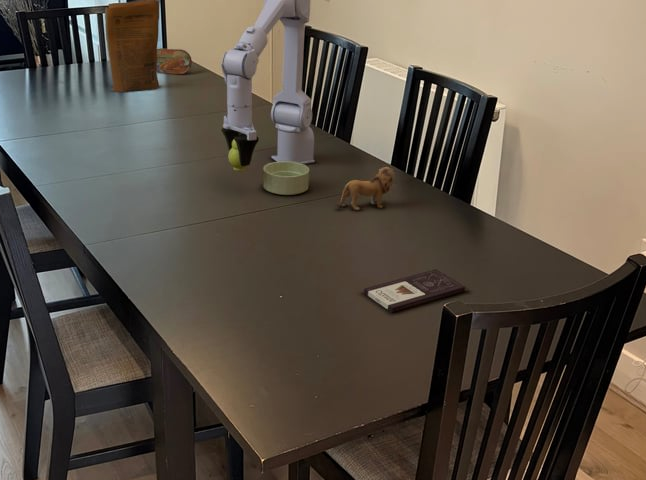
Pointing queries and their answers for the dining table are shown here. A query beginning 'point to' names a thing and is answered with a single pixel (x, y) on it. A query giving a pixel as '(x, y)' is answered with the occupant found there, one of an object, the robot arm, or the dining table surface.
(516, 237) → the dining table surface
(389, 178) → the lion figurine
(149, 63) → the pancake mix bag
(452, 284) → the chocolate bar
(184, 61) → the tin
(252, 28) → the robot arm
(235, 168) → the pear
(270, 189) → the bowl
